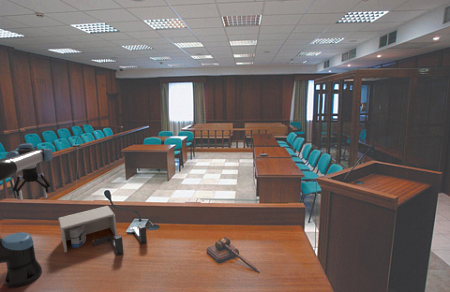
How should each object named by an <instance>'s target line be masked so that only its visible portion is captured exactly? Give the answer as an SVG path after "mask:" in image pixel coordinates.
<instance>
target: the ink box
mask: <svg viewBox="0 0 450 292" xmlns="http://www.w3.org/2000/svg"><path fill="white" fill-rule="evenodd" d="M70 236H71V239H70V242H71V248H81V246H82V245H83V244H84V243H85V242H86V241H87V234H85V225H84V224H81V225H78V226H74V227H73V228H72V229H70Z"/></svg>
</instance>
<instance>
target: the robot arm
mask: <svg viewBox="0 0 450 292" xmlns="http://www.w3.org/2000/svg"><path fill="white" fill-rule="evenodd" d="M53 157H54V154H53V151H52V149H51V148H34V145H33V143H20V144H19V145H18V147H17V149H15V150H10V151H9V152H7V153H6V154H5V156H4V157H3V158H1V159H0V182H2V181H5V180H7V179H9V178H12V177H14V176H15V175H16V174H17V173H18V172H20V171H21V173H22V175H18V176H16V181H15V184H14V187H13V189H12V192H16V195H17V197H19V202H22V201H24V197H23V191H22V190H21V189H22V188H23V187H24V185H25V184H26V183H33V182H36V183H38V184H39V185H40V186H42V187H43V192H44V193H43V194H44V198H45V199H47V198H48V193H49V188H50V187H51V186H52V184H51V183H50V181H49V180H48V179H47V178H46V176H45V174H44V173H43V172H42V173H38V169H37V164H39V163H42V162H50V161H52V159H53ZM22 179H23V181H22V182H21V180H22ZM20 182H21V184H20ZM19 184H20V185H19ZM34 247H35V246H34V240H33V237H32V235H31V234H30V233H28V232H23V231H22V232H14V233H10V234H8V235H6V236H4V237H3V238H2V237H1V236H0V264H4V263H5V264H6V273H5V278H4V284H5V287H7V288H12V289H13V288H14V289H15V288H20V287H23V286H27V285H28V284H30V283H32V282H35V280H37V279H39V277H40V276H41V275H42V273H43V268H42V266H41V264H40V263H39V261H38V260H37V258H36V252H35V248H34Z"/></svg>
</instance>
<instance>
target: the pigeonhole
mask: <svg viewBox="0 0 450 292" xmlns="http://www.w3.org/2000/svg"><path fill="white" fill-rule="evenodd" d="M58 222H59V229H60V235H61V242H62V246H63V251H64V253H68V247H67V241H68V240H71V236H70V229H72V228H73V227H74V226H78V225H81V224H84V225H85V234H86V235H90V234H93V233H96V232H99V231H103V230H105V229H110V231H111V232H112V235H114V236H117V235H118V232H117V231H118V230H117V229H118V228H117V219H116V215H115V213H114V212H113V210H112V208H110V206H109V205H105V206H101V207H97V208H92V209H88V210H86V211H85V210H84V211H81V212H76V213H72V214H69V215H65V216H61V217H58Z"/></svg>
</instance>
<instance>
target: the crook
mask: <svg viewBox="0 0 450 292" xmlns="http://www.w3.org/2000/svg"><path fill="white" fill-rule="evenodd" d="M109 242H110V243H111V245H112V247H113V249H114V251H115V254H116V256H117V257H120V256H121V255H124V253H125V252H124V246H123V245H124V243H123V236H122V235H121V234H117V236H115V235H114V234H109V235H106V236H103V237H101V238H96V239H93V240H92V245H93V247H96V246H99V245H102V244H106V243H109Z"/></svg>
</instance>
